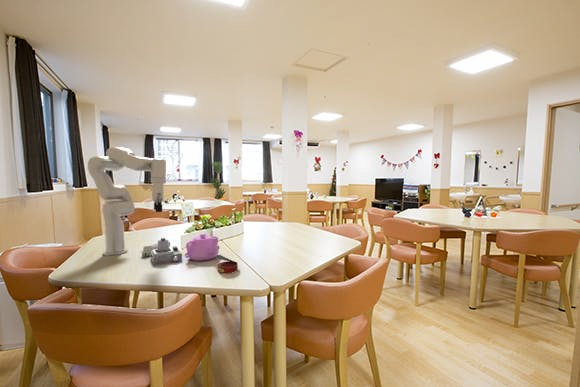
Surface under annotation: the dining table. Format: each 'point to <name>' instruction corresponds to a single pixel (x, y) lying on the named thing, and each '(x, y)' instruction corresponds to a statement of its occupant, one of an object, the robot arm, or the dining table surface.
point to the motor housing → (166, 256)
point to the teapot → (202, 248)
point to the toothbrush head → (150, 249)
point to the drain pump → (162, 245)
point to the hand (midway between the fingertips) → (157, 210)
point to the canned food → (226, 265)
